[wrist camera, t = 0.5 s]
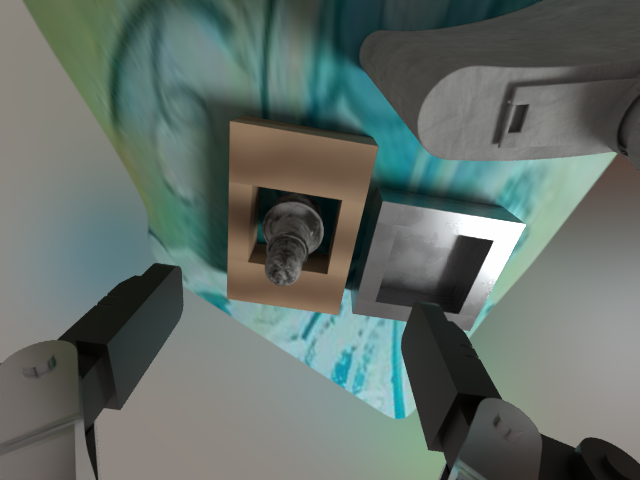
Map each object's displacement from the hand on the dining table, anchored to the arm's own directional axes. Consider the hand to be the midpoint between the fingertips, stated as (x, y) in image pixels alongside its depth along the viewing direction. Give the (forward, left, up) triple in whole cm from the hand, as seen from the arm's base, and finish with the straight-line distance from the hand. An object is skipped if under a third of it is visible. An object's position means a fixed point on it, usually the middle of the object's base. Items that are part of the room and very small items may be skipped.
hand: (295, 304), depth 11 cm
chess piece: (+6, -1, -22) cm, 23 cm away
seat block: (+8, +13, -21) cm, 26 cm away
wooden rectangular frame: (+6, -1, -21) cm, 22 cm away
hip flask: (-11, +10, -21) cm, 26 cm away
